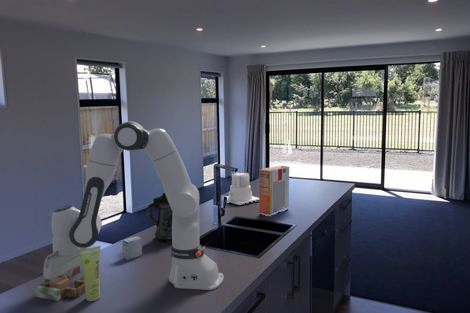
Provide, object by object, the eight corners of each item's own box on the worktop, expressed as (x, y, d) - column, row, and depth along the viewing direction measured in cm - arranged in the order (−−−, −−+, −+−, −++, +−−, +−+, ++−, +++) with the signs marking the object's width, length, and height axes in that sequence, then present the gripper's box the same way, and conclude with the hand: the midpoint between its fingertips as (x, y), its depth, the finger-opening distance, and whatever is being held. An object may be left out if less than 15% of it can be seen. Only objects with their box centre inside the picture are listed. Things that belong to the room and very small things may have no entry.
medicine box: (136, 253, 188) (136, 235, 187) (142, 255, 185) (142, 237, 184) (122, 258, 182) (122, 240, 181) (128, 260, 179) (128, 242, 178)
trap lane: (108, 276, 162) (108, 267, 162) (69, 303, 140) (69, 292, 140) (68, 270, 168) (67, 261, 168) (24, 294, 146) (23, 284, 146)
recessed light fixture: (243, 196, 307) (243, 169, 305) (262, 201, 291) (262, 173, 288) (218, 201, 291) (218, 173, 289) (237, 207, 275) (237, 177, 272)
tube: (95, 303, 140) (92, 251, 138) (82, 301, 141) (79, 250, 138) (102, 295, 146) (100, 245, 143) (90, 294, 146) (87, 244, 144)
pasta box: (278, 207, 273) (279, 165, 269) (288, 209, 267) (289, 166, 264) (259, 214, 255) (259, 169, 251) (269, 217, 250) (270, 171, 246)
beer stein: (192, 237, 211) (191, 192, 208) (167, 247, 195) (166, 199, 192) (170, 231, 220) (169, 188, 217) (144, 241, 204) (142, 194, 201)
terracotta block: (69, 288, 151) (69, 278, 151) (60, 294, 147) (59, 284, 146) (59, 286, 153) (58, 277, 152) (49, 292, 148) (49, 282, 148)
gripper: (51, 258, 141) (54, 294, 143) (89, 239, 160) (90, 271, 162) (37, 256, 143) (40, 291, 145) (76, 238, 162) (77, 269, 164)
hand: (67, 281), depth 153 cm, fingers closed
